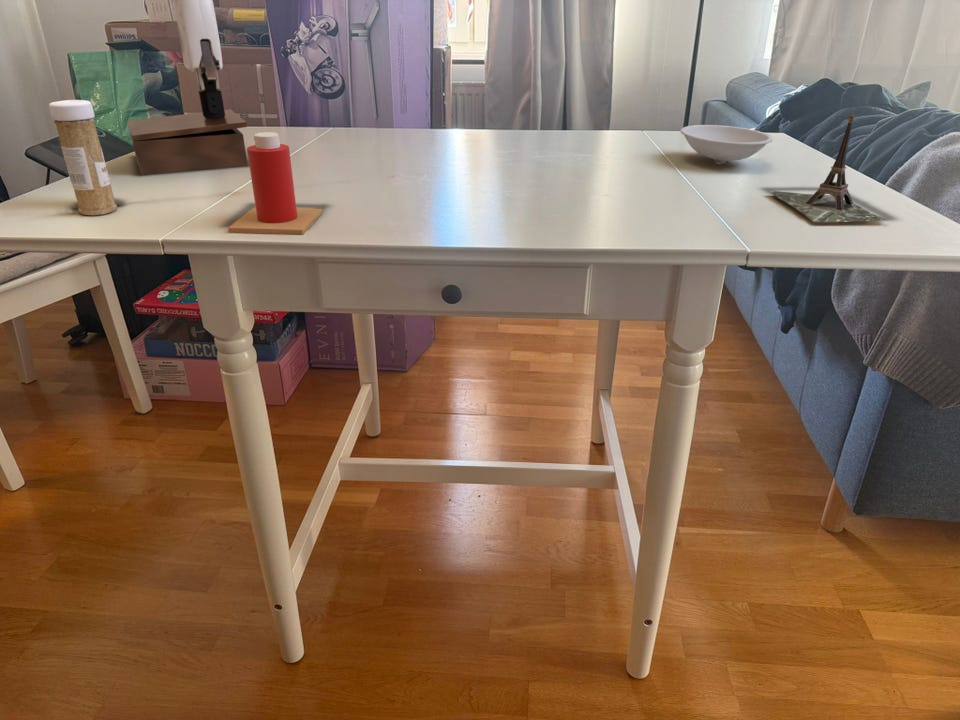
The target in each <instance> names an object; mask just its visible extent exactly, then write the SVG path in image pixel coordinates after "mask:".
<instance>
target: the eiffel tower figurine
mask: <svg viewBox="0 0 960 720" xmlns="http://www.w3.org/2000/svg"><path fill="white" fill-rule="evenodd" d="M855 109H856V106H855V105H854V107H853V109H852V113H851V114H850V115H849V117H848V121H847V124H846V125H847V126H846V128H845V131H844V135H843V138H842V141H841V144H840V147H839V149H838V153H837V155H836V157H835V160H834V163H833V165H832V166H830V171H829V173H828V175H827V176H826V178H825V180H824V181H823V182H822V183H820V184H819V187H818V189H817V190H816V191H815V192H814V193H799V192H791V191H776V190H775V191H774V190H767V191H768V192H769V193H770V194H772V195H773V196H775V197H776V198H777V199H778V200H780V201H782V202H783V203H786V204H788V205H789V206H791V207H792V208H794V209H795V210H797V211H799V213H801V214H802V215H804V216H805V217H806V218H807V219H808V220H810V221H812V222H813V223H848V222H849V223H850V222H874V221H875V222H876V221H888V219H887V218H885V217H882V216H879V215H876V214H874V213H872V212H870V211H868V210H867V209H865V208H863V207H861V206H859V205H857V204H856V203H854V202H853V200H852V197H851V194H850V192H849V189H848V188H849V183H847V182H846V169H847V166H846V160H847V154H848V153H847V152H848V148H849V143H850V137H851V132H852V127H853V122H854V121H855V119H856V118H855V114H854V112H855ZM835 177H836V181H834V180H835Z"/></svg>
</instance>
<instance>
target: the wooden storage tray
mask: <svg viewBox="0 0 960 720" xmlns="http://www.w3.org/2000/svg"><path fill="white" fill-rule="evenodd" d="M128 128H129V129H130V127H129V126H128ZM129 133H130V137H131V141H132V145H133V146H132V147H133V150H134V155H135V158H136V161H137V166H138V170H139V173H140V176H153V175H165V174H177V173H187V172H198V171H200V172H201V171H209V170H221V169H232V168H244V167H245V168H247V167H248V166H249V163H248V156H247V150H246V144H245V139H244V134H243V132H241V131H240V130H239V128H236V129H228V130H220V131H211V132H203V133H195V134H187V135H179V136H171V137H163V138H155V139H146V140H138V141H133V138H132V134H131V131H130V130H129Z"/></svg>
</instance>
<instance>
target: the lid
mask: <svg viewBox="0 0 960 720" xmlns="http://www.w3.org/2000/svg"><path fill="white" fill-rule="evenodd" d="M224 111H225V117H224V118H210V119H206V118H205V117H204V116H203V112H202V111H200V112H194V113H193V112H192V113H185V114H176V115H168V116H167V115H165V116H157V117H147V118H140V119H130V120H127V124H128V128H129V127H130V128H129V132H130V131H131V133H130V135H131V134H132V137H131V139H132V138H133V141H138V140H146V139H155V138H163V137H171V136H179V135H187V134H195V133H203V132H211V131H220V130H228V129H236V128H237V129H243V128H248V124H247V123H248V122H247V121H246V120H245V119H243V118H242V117H241V116H240V115H238V114H237V113H236V112H235V111H233V109H232V108H229V109H224Z"/></svg>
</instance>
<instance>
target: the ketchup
mask: <svg viewBox="0 0 960 720" xmlns="http://www.w3.org/2000/svg"><path fill="white" fill-rule="evenodd" d="M253 137H254V144H253V145H250V146H248V147H246V153H247V160H248V166H249V172H250V180H251V185H252V192H253V199H254V205H255V206H254V207H256V213H257V219H258V220H259V221H260V222H264V223H283V222H288V221H292V220H294V219H296V218H297V209H296V208H297V203H296V193H295V186H294V178H293V177H294V176H293V168H292V160H291V159H292V158H291V152H290V146H289V145H288V144H284V143H281V142H280V135H279V133H278V132H275V131H273V132H272V131H265V132H263V131H262V132H258V133H257V132H256V133H254V135H253Z"/></svg>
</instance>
